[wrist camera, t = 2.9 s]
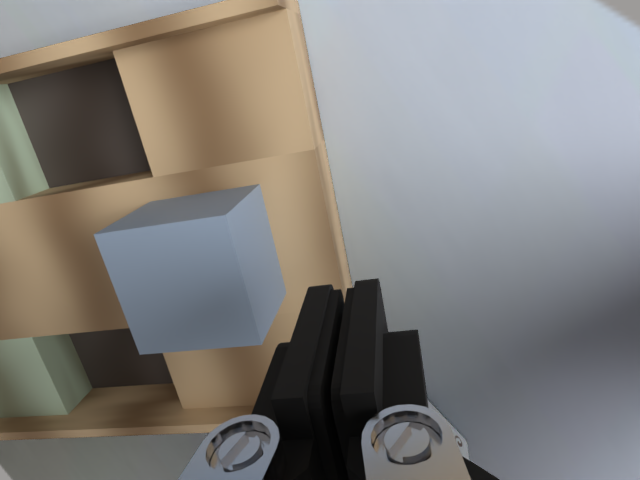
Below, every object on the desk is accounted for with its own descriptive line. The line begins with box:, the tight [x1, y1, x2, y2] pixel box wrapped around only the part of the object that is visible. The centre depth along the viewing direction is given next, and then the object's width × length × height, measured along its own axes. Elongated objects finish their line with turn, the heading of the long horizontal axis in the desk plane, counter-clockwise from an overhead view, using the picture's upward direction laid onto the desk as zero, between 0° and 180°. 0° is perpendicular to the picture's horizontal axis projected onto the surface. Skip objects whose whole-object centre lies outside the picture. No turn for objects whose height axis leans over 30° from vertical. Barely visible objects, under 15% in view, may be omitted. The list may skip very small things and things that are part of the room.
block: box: [93, 184, 286, 355], centre depth 18 cm, size 5×5×4 cm
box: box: [0, 0, 353, 440], centre depth 22 cm, size 23×18×4 cm
